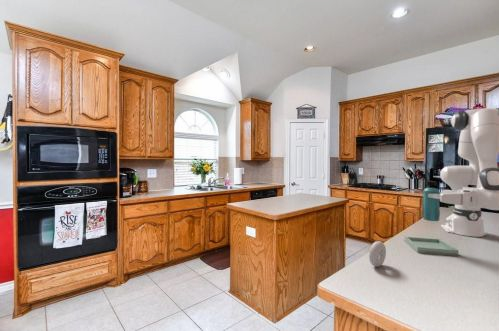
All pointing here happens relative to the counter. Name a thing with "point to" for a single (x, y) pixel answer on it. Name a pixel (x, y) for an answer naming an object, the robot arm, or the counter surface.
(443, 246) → the tray
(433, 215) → the beverage bottle
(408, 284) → the counter surface
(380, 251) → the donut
